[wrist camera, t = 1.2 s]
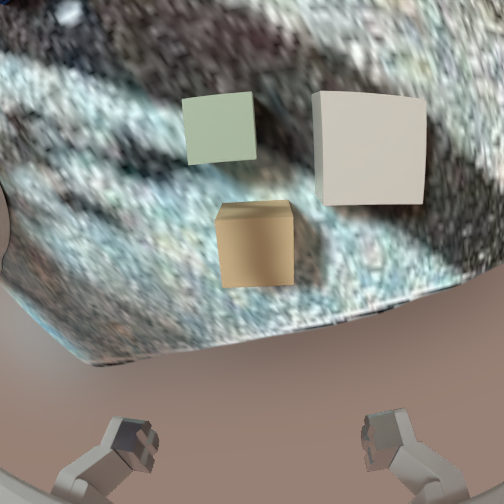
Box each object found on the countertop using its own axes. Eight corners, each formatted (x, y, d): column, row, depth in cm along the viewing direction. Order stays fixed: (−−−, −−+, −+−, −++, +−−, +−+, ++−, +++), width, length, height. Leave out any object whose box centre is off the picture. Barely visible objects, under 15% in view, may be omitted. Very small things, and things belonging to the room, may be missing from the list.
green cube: (201, 156, 26) (188, 165, 22) (195, 102, 24) (181, 99, 20) (257, 151, 26) (256, 159, 22) (253, 96, 24) (251, 91, 19)
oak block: (228, 261, 31) (222, 287, 26) (222, 202, 28) (214, 220, 24) (289, 258, 30) (293, 284, 26) (288, 199, 28) (293, 216, 23)
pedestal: (315, 193, 27) (323, 205, 24) (311, 94, 24) (320, 90, 20) (404, 192, 27) (422, 204, 23) (405, 100, 23) (425, 99, 19)
